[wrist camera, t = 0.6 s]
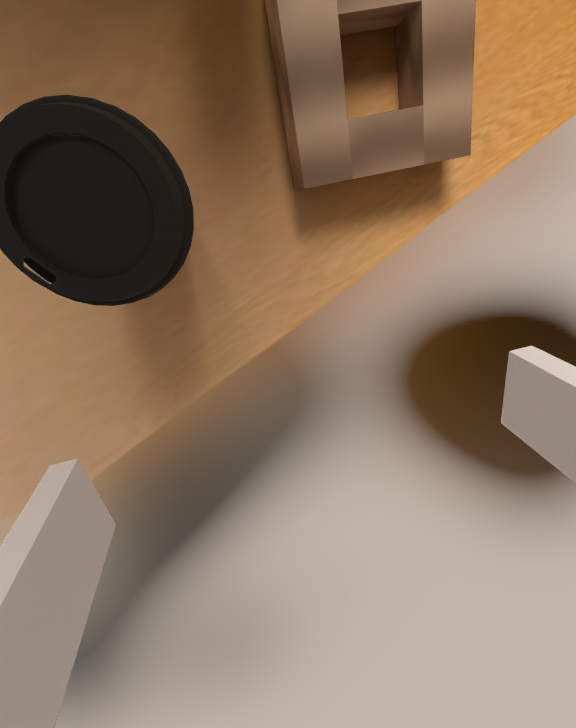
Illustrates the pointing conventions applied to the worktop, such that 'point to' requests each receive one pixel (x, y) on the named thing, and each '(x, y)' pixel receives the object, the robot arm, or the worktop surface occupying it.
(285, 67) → the socket block
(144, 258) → the coffee cup
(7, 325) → the worktop surface
